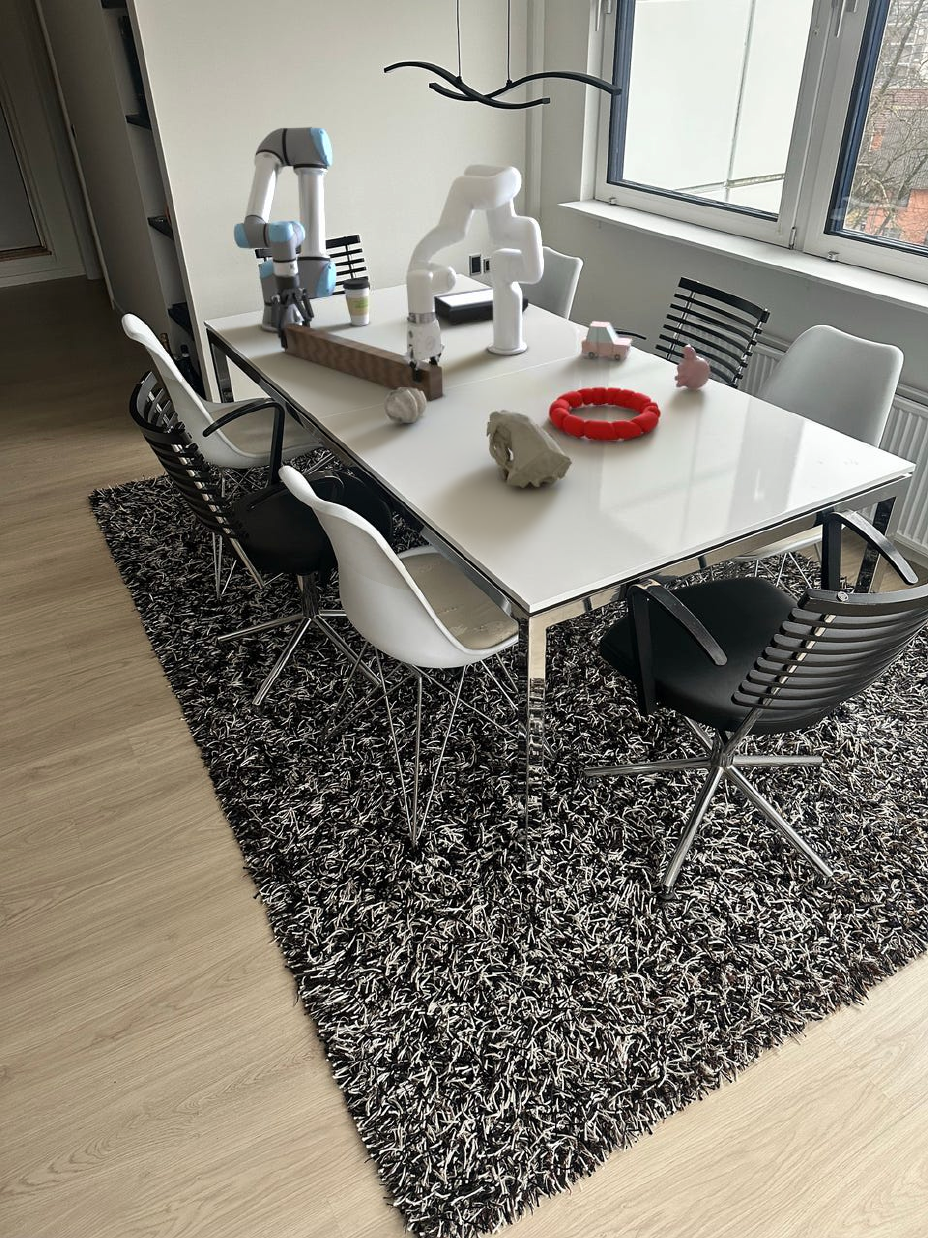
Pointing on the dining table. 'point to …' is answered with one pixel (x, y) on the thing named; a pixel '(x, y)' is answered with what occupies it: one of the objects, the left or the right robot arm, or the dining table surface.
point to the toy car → (605, 342)
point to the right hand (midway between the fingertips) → (425, 377)
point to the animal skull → (525, 450)
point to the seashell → (405, 405)
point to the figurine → (692, 370)
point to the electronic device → (467, 306)
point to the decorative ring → (604, 428)
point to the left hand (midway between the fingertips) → (296, 344)
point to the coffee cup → (357, 300)
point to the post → (361, 360)
